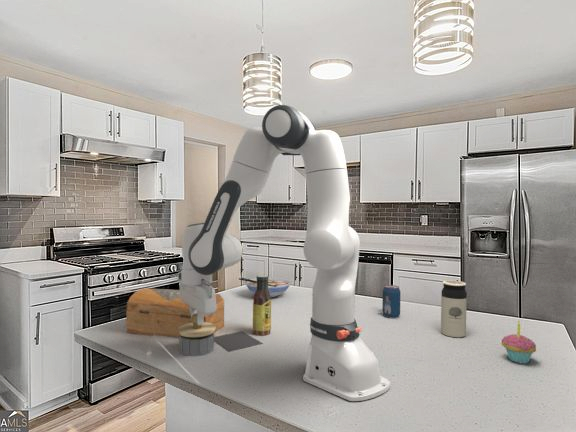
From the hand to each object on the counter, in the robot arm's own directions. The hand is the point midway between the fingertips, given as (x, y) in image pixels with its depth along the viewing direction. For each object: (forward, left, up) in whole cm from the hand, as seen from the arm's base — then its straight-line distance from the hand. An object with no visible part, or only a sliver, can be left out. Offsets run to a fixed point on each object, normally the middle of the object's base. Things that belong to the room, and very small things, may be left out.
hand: (197, 322), depth 112 cm
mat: (0, -13, -8) cm, 16 cm away
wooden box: (+22, -2, -9) cm, 24 cm away
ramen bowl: (+46, -54, -9) cm, 71 cm away
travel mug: (-35, -79, -9) cm, 87 cm away
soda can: (-9, -78, -9) cm, 79 cm away
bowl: (0, 0, -8) cm, 8 cm away
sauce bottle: (+2, -24, -9) cm, 26 cm away
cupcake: (-58, -74, -9) cm, 94 cm away
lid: (0, 0, -2) cm, 2 cm away
